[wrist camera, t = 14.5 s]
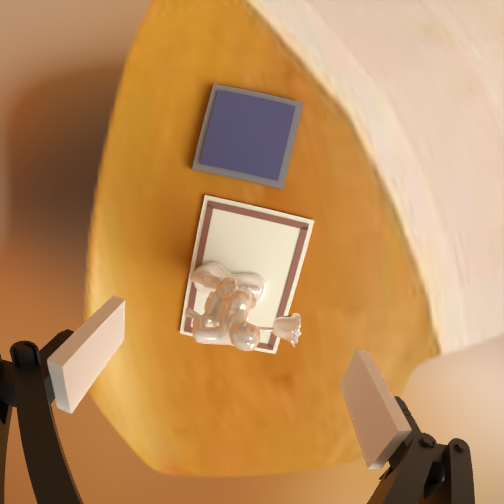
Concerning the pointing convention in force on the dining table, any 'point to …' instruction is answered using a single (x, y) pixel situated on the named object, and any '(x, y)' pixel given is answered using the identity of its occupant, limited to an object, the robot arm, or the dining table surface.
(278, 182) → the ink pad
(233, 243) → the print sheet
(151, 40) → the dining table surface
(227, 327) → the figurine
